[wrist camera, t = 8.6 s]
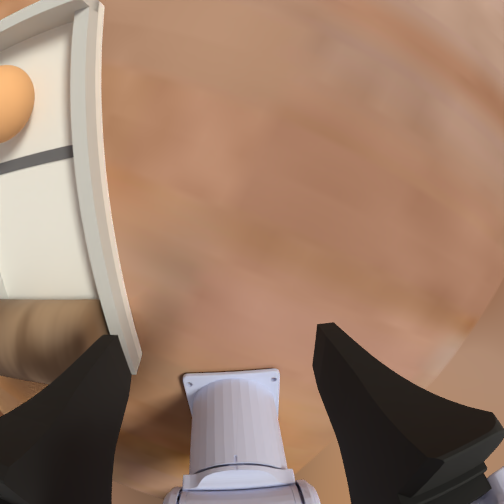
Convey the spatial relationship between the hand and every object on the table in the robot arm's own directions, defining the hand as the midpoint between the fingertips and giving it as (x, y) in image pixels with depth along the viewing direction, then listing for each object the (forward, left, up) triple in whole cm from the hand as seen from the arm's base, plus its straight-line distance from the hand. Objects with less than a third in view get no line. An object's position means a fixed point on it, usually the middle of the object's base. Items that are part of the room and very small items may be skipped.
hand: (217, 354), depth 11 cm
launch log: (-5, +13, -10) cm, 17 cm away
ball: (+11, +13, -7) cm, 19 cm away
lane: (+4, +13, -10) cm, 17 cm away
